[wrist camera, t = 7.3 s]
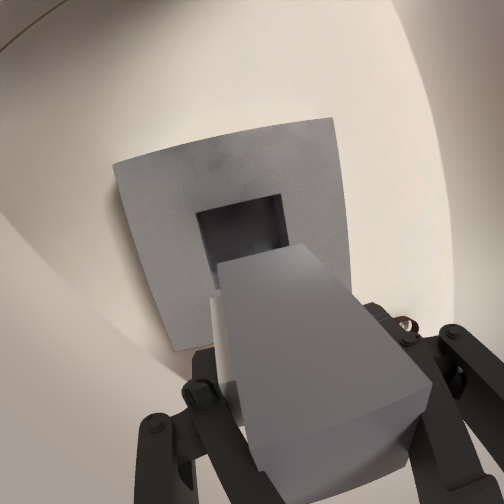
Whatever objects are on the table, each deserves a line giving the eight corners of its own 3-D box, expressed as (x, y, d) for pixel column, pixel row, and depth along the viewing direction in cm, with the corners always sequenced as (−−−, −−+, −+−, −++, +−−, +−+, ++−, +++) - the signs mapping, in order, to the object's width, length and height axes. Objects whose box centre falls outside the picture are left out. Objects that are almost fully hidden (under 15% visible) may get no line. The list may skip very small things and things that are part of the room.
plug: (216, 263, 17) (249, 449, 6) (302, 242, 18) (432, 383, 7) (235, 335, 19) (277, 512, 8) (311, 315, 20) (405, 466, 8)
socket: (123, 161, 26) (111, 164, 22) (315, 119, 27) (334, 117, 23) (176, 329, 32) (174, 353, 28) (337, 288, 34) (353, 307, 30)
